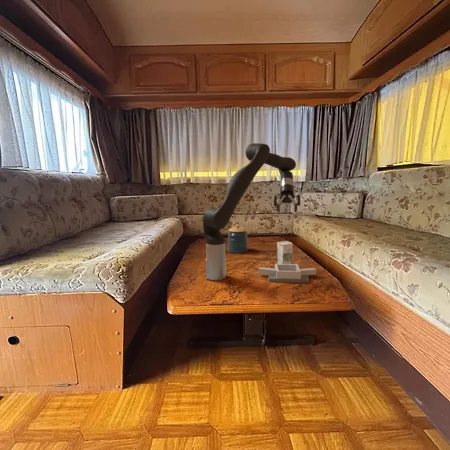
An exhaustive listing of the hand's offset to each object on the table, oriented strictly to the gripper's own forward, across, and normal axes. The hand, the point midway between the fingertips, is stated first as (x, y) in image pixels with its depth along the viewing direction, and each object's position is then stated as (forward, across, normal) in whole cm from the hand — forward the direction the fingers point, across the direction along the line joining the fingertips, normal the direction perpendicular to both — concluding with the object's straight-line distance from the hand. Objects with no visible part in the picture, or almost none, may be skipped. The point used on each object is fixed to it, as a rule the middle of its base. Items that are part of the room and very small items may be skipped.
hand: (287, 211), depth 151 cm
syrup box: (+29, -2, +11) cm, 31 cm away
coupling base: (+37, 0, +2) cm, 37 cm away
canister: (+8, -32, +34) cm, 47 cm away
